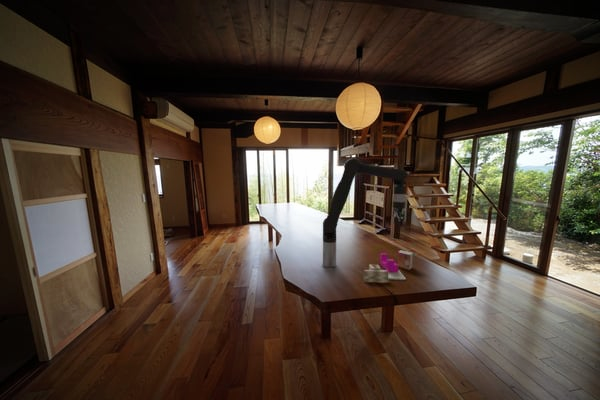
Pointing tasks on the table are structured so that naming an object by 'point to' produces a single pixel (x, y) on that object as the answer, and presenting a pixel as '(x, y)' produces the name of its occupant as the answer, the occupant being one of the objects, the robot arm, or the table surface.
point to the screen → (376, 276)
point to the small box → (405, 259)
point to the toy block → (388, 263)
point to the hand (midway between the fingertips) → (398, 225)
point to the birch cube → (374, 267)
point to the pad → (395, 275)
